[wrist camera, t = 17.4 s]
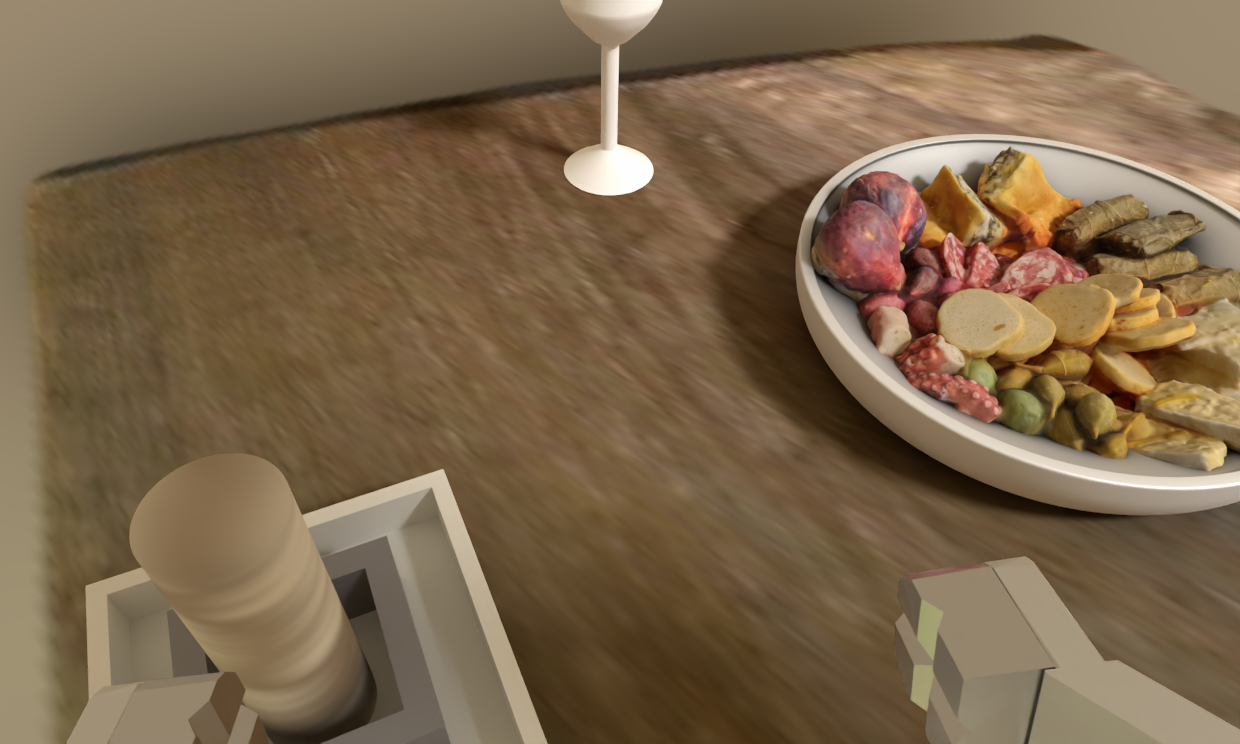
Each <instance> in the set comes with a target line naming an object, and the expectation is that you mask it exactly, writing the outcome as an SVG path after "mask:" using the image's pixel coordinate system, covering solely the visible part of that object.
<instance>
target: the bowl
mask: <svg viewBox="0 0 1240 744" xmlns="http://www.w3.org/2000/svg"><path fill="white" fill-rule="evenodd" d="M796 284H797V292H798V297H799V302H800V306H801V309H802V313H803V316H804V319H805V322H806V324H807V327H808V329H809V332H810V334H811V336H812V338H813V340H814V342H815V344H816V346H817V348H818V349H819V351H820V353H821V355H822V356H823V358H824V360H825V361H826V363H827V364H828V366H829V367H830V369H831V370H832V371H833V373H834V374H835V375H836V377H837V378H838V379H839V380H840V382H841V383H842V384H843V385H844V386H845V387H846V389H847V390H848V391H849V392H850V393H851V394H852V395H853V396H854V397H855V398H856V399H857V401H858V402H859V403H860V404H861V405H862V406H863V407H864V408H866V409H867V410H868V411H869V412H870V413H871V414H872V415H873V416H874V417H875V418H877V419H878V420H879V421H880V422H881V423H883V424H884V425H885V426H886V427H888V428H889V429H890V430H891V431H893V432H894V433H895V434H897V435H898V436H900V437H901V438H902V439H904V440H905V441H907V442H908V443H910V444H911V445H913V446H914V447H916V448H917V449H919V450H920V451H922V452H924V453H925V454H927V455H929V456H930V457H932V458H934V459H936V460H937V461H939V462H941V463H943V464H945V465H947V466H948V467H950V468H952V469H954V470H956V471H959V472H961V473H963V474H965V475H967V476H969V477H971V478H974V479H976V480H978V481H981V482H983V483H985V484H988V485H990V486H993V487H996V488H998V489H1001V490H1004V491H1007V492H1010V493H1013V494H1016V495H1019V496H1022V497H1025V498H1029V499H1032V500H1036V501H1039V502H1043V503H1047V504H1052V505H1056V506H1060V507H1065V508H1071V509H1076V510H1082V511H1090V512H1097V513H1107V514H1119V515H1168V514H1179V513H1189V512H1195V511H1202V510H1207V509H1212V508H1216V507H1221V506H1225V505H1229V504H1232V503H1235V502H1239V501H1240V212H1239V211H1237V210H1236V209H1234V208H1233V207H1231V206H1229V205H1228V204H1226V203H1224V202H1222V201H1221V200H1219V199H1217V198H1215V197H1214V196H1212V195H1210V194H1208V193H1206V192H1204V191H1202V190H1200V189H1198V188H1196V187H1194V186H1192V185H1190V184H1188V183H1186V182H1184V181H1182V180H1179V179H1177V178H1175V177H1173V176H1170V175H1168V174H1166V173H1163V172H1161V171H1158V170H1156V169H1153V168H1150V167H1148V166H1145V165H1142V164H1140V163H1137V162H1134V161H1131V160H1128V159H1125V158H1122V157H1119V156H1116V155H1112V154H1109V153H1105V152H1102V151H1098V150H1094V149H1090V148H1086V147H1082V146H1077V145H1073V144H1068V143H1063V142H1057V141H1052V140H1045V139H1039V138H1031V137H1022V136H1012V135H995V134H964V135H948V136H938V137H930V138H924V139H918V140H913V141H909V142H904V143H901V144H897V145H893V146H890V147H887V148H884V149H881V150H879V151H876V152H874V153H871V154H869V155H867V156H865V157H863V158H861V159H859V160H857V161H855V162H853V163H851V164H850V165H848V166H847V167H845V168H844V169H842V170H841V171H840V172H838V173H837V174H836V175H834V176H833V177H832V178H831V179H830V180H829V181H828V182H827V183H826V184H825V185H824V186H823V187H822V188H821V189H820V191H819V192H818V193H817V195H816V196H815V197H814V199H813V200H812V202H811V204H810V205H809V208H808V210H807V212H806V214H805V217H804V219H803V222H802V226H801V230H800V235H799V239H798V245H797V252H796Z"/></svg>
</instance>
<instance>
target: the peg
mask: <svg viewBox="0 0 1240 744" xmlns="http://www.w3.org/2000/svg"><path fill="white" fill-rule="evenodd" d="M129 541H130V547H131V550H132V552H133V555H134V557H135V558H136V560H137V561H138V563H139V564H140V566H141V567H142V568H143V570H144V571H145V572H146V574H147V575H148V576H149V578H150V579H151V580H152V582H153V583H154V584H155V586H156V587H157V588H158V590H159V591H160V592H161V594H162V595H163V596H164V598H165V599H166V600H167V602H168V603H169V604H170V606H171V607H172V608H173V610H174V611H175V612H176V614H177V615H178V616H179V618H180V619H181V620H182V622H183V623H184V624H185V626H186V627H187V628H188V630H189V631H190V632H191V634H192V635H193V636H194V638H195V639H196V640H197V642H198V643H199V644H200V646H201V647H202V648H203V650H204V651H205V652H206V654H207V655H208V656H209V658H210V659H211V660H212V662H213V663H214V664H215V666H216V667H217V668H218V670H219V671H220V672H236V674H237V676H238V677H239V679H240V681H241V682H242V684H243V686H244V688H245V689H246V691H245V694H244V697H243V700H242V702H243V703H244V704H245V706H246V707H247V708H248V709H250V710H252V711H254V712H256V713H258V715H259V717H260V719H261V721H262V723H263V725H264V727H265V731H266V734H267V735H268V737H269V738H270V739H271V741H272V742H273V743H274V744H321V743H323V742H326V741H328V740H331V739H333V738H336V737H338V736H340V735H343V734H345V733H348V732H350V731H353V730H355V729H358V728H360V727H363V726H365V725H367V724H368V723H369V721H370V719H371V717H372V714H373V712H374V709H375V705H376V699H377V687H376V682H375V679H374V676H373V673H372V671H371V669H370V667H369V664H368V662H367V660H366V658H365V655H364V653H363V651H362V649H361V646H360V644H359V642H358V640H357V637H356V635H355V633H354V631H353V629H352V626H351V624H350V622H349V620H348V617H347V615H346V613H345V611H344V608H343V606H342V604H341V602H340V599H339V597H338V595H337V593H336V590H335V588H334V586H333V584H332V581H331V579H330V577H329V575H328V572H327V570H326V568H325V566H324V563H323V561H322V559H321V557H320V554H319V552H318V550H317V548H316V545H315V543H314V541H313V539H312V536H311V534H310V532H309V530H308V527H307V525H306V523H305V521H304V519H303V516H302V514H301V512H300V510H299V507H298V505H297V503H296V501H295V498H294V496H293V494H292V492H291V489H290V487H289V485H288V483H287V481H286V479H285V477H284V475H283V474H282V473H281V471H280V470H279V469H278V468H277V467H276V466H274V465H273V464H272V463H270V462H268V461H267V460H265V459H262V458H260V457H257V456H254V455H250V454H243V453H223V454H217V455H211V456H207V457H203V458H200V459H197V460H195V461H192V462H190V463H188V464H185V465H183V466H181V467H180V468H178V469H176V470H174V471H173V472H171V473H170V474H168V475H167V476H165V477H164V478H163V479H162V480H160V481H159V482H158V483H157V484H156V485H155V486H154V487H153V488H152V489H151V490H150V491H149V492H148V493H147V494H146V495H145V497H144V498H143V499H142V501H141V502H140V504H139V505H138V507H137V509H136V511H135V513H134V516H133V518H132V521H131V525H130V531H129Z"/></svg>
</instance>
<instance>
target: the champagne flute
mask: <svg viewBox="0 0 1240 744" xmlns="http://www.w3.org/2000/svg"><path fill="white" fill-rule="evenodd" d="M662 1H663V0H560V2H561V5H562V6H563V8H564V10H565V12H566V14H567V15H568V16H569V18H570V19H571V20H572V22H573V23H574V24H575V25H576V26H577V27H578V28H579V29H580V30H582V31H583V32H584V33H585V34H586V35H587V36H588V37H590V38H591V39H592V40H593V41H595V42H597V43H599V44H601V45H602V50H601V51H602V52H601V53H602V56H601V60H602V61H601V144H598V145H594V146H590V147H586V148H584V149H581V150H579V151H577V152H575V153H574V154H572V155H571V156H570V157H569V158H568V159H567V161H566V162H565V165H564V174H565V177H566V178H567V179H568V181H569V182H570V183H571V184H572V185H574V186H575V187H577V188H579V189H581V190H583V191H586V192H589V193H593V194H598V195H621V194H626V193H630V192H633V191H636V190H638V189H640V188H642V187H643V186H645V185H646V184H647V183H648V182H649V181H650V179H651V178H652V176H653V165H652V163H651V161H650V160H649V159H648V158H647V157H646V156H645V155H644V154H642V153H641V152H639V151H637V150H635V149H632V148H629V147H626V146H622V145H618V144H617V122H618V75H619V45H621V44H623V43H625V42H627V41H629V39H631V38H632V37H633V36H635V35H636V34H637V33H638V32H640V31H641V30H642V29H643V28H644V27H646V26H647V24H648V23H649V22H650V21H651V19H652V18H653V17H654V16H655V15H656V13H657V11H658V9H659V8H660V6H661V4H662Z"/></svg>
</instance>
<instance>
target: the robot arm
mask: <svg viewBox="0 0 1240 744" xmlns="http://www.w3.org/2000/svg"><path fill="white" fill-rule="evenodd" d="M897 598H898V600H899V602H900V604H901V606H902V608H903V611H904V614H903V615H902V616H901V617H900V618H899V619H898V620H897V621H896V622H895V634H894V645H895V651H896V658H897V664H898V668H899V671H900V674H901V677H902V680H903V683H904V685H905V688H906V690H907V692H908V695H909V697H910V699H911V701H913V702H914V703H916V704H917V705H918V706H920V707H921V708H923V709H924V710H925V711H927V720H926V729H925V733H926V735H927V738H928V740H929V742H930V744H1240V729H1238V728H1236V727H1234V726H1232V725H1231V724H1229V723H1227V722H1225V721H1224V720H1222V719H1220V718H1218V717H1217V716H1215V715H1213V714H1211V713H1210V712H1208V711H1206V710H1204V709H1203V708H1201V707H1199V706H1197V705H1196V704H1194V703H1192V702H1190V701H1189V700H1187V699H1185V698H1183V697H1182V696H1180V695H1178V694H1176V693H1175V692H1173V691H1171V690H1169V689H1168V688H1166V687H1164V686H1162V685H1161V684H1159V683H1157V682H1155V681H1154V680H1152V679H1150V678H1148V677H1146V676H1145V675H1143V674H1141V673H1139V672H1138V671H1136V670H1134V669H1132V668H1131V667H1129V666H1127V665H1125V664H1124V663H1122V662H1120V661H1118V660H1114V661H1104V660H1103V658H1102V657H1101V655H1100V654H1099V653H1098V651H1097V650H1096V648H1095V647H1094V646H1093V644H1092V643H1091V641H1090V640H1089V639H1088V637H1087V636H1086V634H1085V633H1084V632H1083V630H1082V629H1081V627H1080V626H1079V625H1078V623H1077V622H1076V620H1075V619H1074V618H1073V616H1072V615H1071V613H1070V612H1069V611H1068V609H1067V608H1066V606H1065V605H1064V604H1063V602H1062V601H1061V600H1060V598H1059V597H1058V595H1057V594H1056V593H1055V591H1054V590H1053V588H1052V587H1051V586H1050V584H1049V583H1048V581H1047V580H1046V579H1045V577H1044V576H1043V574H1042V573H1041V572H1040V570H1039V569H1038V567H1037V566H1036V565H1035V563H1034V562H1033V561H1031V560H1030V559H1028V558H1027V557H1018V558H1011V559H1004V560H998V561H991V562H985V563H983V564H981V563H975V564H969V565H962V566H956V567H949V568H943V569H936V570H930V571H923V572H917V573H910V574H904V575H902V577H901V579H900V581H899V585H898V594H897ZM245 691H246V689H245V688H244V686H243V684H242V682H241V681H240V679H239V677H238V676H237V674H236V672H218V673H209V674H201V675H192V676H184V677H175V678H166V679H158V680H149V681H144V682H137V683H129V684H120V685H112V686H104V687H102V688H101V689H100V690H99V691H98V692H96V693H95V694H94V695H93V696H92V697H91V698H90V699H89V701H88V703H87V705H86V707H85V709H84V711H83V713H82V714H81V716H80V718H79V720H78V722H77V724H76V726H75V728H74V729H73V731H72V733H71V735H70V737H69V739H68V741H67V743H66V744H268V741H267V736H266V731H265V727H264V725H263V723H262V721H261V719H260V717H259V715H258V713H256V712H254V711H252V710H250V709H248V708H247V707H245V706H243V705H241V703H242V700H243V697H244V694H245Z"/></svg>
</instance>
